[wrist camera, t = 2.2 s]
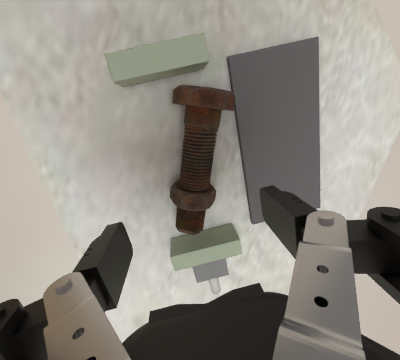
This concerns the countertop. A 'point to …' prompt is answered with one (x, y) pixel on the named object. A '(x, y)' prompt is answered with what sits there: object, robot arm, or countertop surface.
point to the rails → (161, 68)
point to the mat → (278, 120)
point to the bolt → (197, 153)
